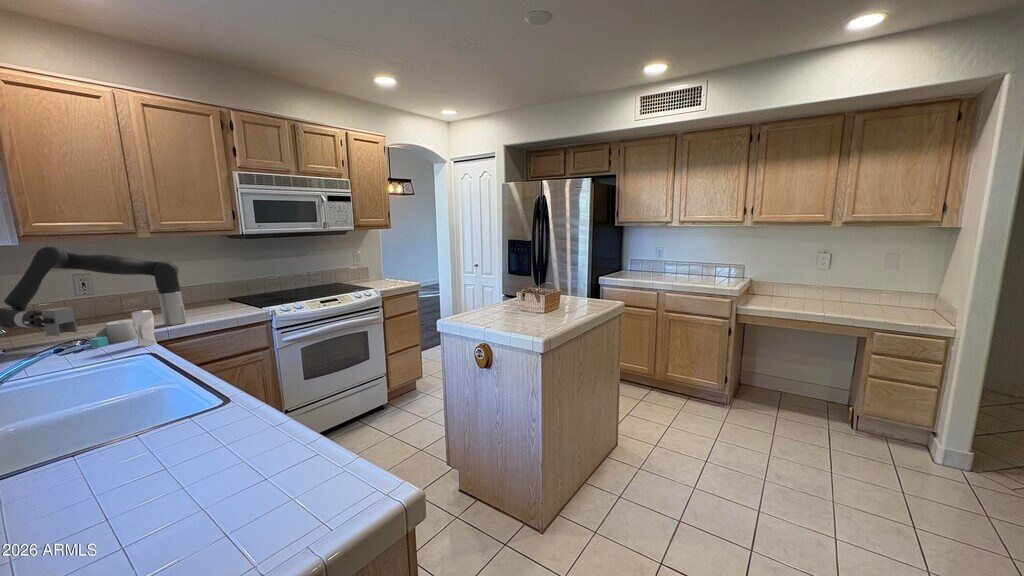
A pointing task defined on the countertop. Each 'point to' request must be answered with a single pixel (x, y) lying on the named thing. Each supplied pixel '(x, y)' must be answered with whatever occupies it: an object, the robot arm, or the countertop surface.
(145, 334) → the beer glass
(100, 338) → the block
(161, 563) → the countertop surface
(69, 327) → the cover
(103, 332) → the toilet tissue
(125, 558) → the countertop surface
